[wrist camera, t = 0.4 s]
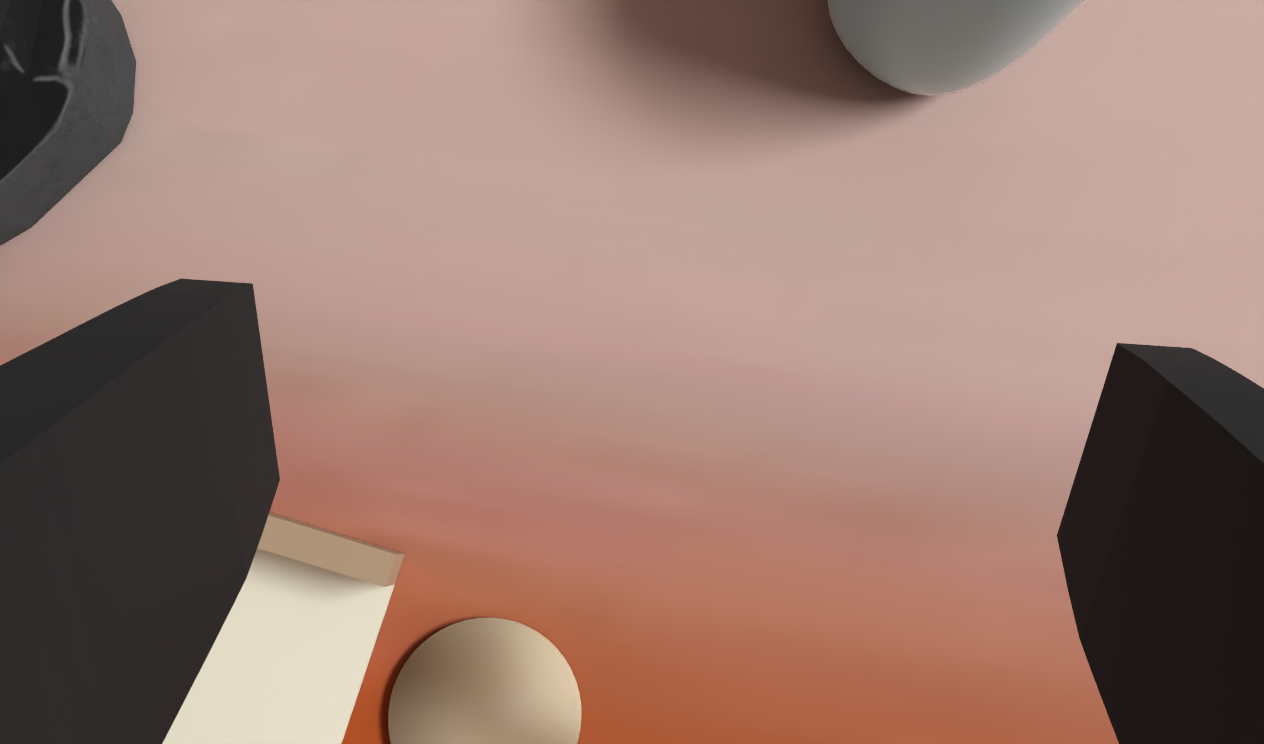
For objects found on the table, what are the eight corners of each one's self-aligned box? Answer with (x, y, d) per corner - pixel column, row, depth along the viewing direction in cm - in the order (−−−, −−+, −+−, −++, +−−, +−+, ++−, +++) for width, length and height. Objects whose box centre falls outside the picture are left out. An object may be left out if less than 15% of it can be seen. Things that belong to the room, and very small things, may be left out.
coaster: (547, 837, 37) (548, 840, 36) (362, 782, 36) (361, 784, 36) (604, 648, 38) (605, 649, 37) (425, 593, 37) (424, 594, 37)
